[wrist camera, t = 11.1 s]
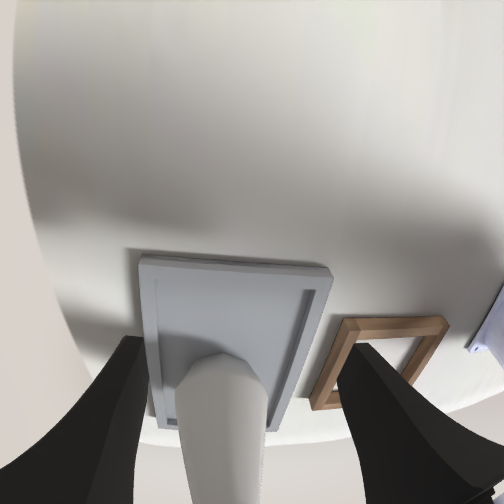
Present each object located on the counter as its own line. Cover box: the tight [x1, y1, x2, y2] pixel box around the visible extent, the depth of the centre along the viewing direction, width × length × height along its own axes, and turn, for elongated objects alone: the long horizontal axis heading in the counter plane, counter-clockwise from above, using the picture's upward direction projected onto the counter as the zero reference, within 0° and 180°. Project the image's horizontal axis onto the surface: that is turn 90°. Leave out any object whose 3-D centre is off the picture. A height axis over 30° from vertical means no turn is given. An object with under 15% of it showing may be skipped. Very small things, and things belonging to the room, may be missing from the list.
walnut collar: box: [309, 316, 450, 411], centre depth 21 cm, size 9×9×1 cm
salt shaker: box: [174, 352, 268, 504], centre depth 14 cm, size 6×6×13 cm
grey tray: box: [138, 254, 334, 432], centre depth 20 cm, size 10×16×1 cm, turn 172°
